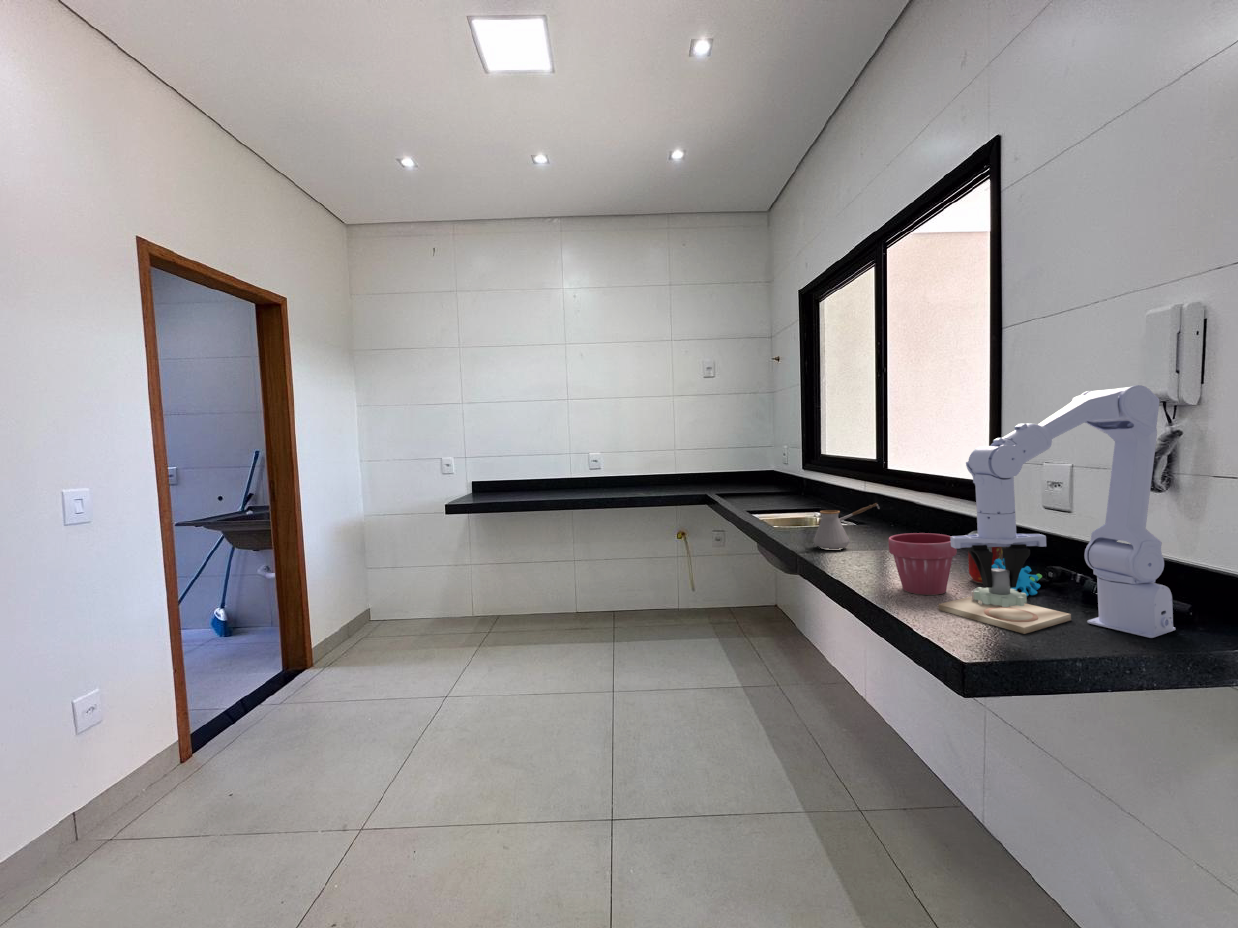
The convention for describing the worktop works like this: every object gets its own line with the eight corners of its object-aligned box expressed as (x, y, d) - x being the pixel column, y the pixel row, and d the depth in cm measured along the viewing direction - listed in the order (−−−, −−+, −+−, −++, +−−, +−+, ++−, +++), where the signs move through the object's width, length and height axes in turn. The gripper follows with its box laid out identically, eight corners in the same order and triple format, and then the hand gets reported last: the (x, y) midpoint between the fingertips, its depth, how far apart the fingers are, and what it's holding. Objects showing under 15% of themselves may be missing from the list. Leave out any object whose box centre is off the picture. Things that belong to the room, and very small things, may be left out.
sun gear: (1018, 602, 111) (1018, 590, 111) (997, 608, 108) (996, 595, 108) (985, 594, 117) (985, 583, 117) (964, 600, 114) (963, 588, 114)
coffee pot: (816, 552, 175) (813, 507, 175) (811, 545, 186) (809, 503, 186) (886, 551, 170) (883, 505, 170) (876, 544, 182) (874, 501, 181)
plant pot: (877, 586, 133) (875, 536, 133) (925, 579, 136) (923, 530, 135) (921, 601, 119) (918, 545, 119) (973, 594, 122) (971, 539, 121)
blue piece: (1005, 592, 117) (986, 554, 123) (990, 605, 121) (973, 567, 128) (1055, 596, 116) (1034, 557, 123) (1039, 608, 121) (1019, 571, 128)
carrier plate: (1071, 620, 102) (1070, 613, 102) (1024, 633, 97) (1024, 626, 97) (982, 598, 118) (982, 592, 118) (938, 609, 113) (938, 603, 113)
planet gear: (1037, 602, 94) (1036, 571, 94) (1008, 609, 91) (1007, 578, 91) (992, 591, 101) (991, 563, 101) (964, 598, 98) (963, 569, 98)
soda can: (1006, 585, 126) (1004, 534, 126) (971, 583, 130) (968, 534, 129) (1001, 578, 133) (998, 529, 132) (967, 576, 136) (965, 529, 136)
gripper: (959, 516, 93) (963, 592, 94) (1054, 513, 90) (1058, 592, 90) (944, 511, 100) (948, 581, 101) (1032, 508, 97) (1036, 581, 97)
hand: (999, 586), depth 96 cm, fingers closed on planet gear, 3 cm apart
